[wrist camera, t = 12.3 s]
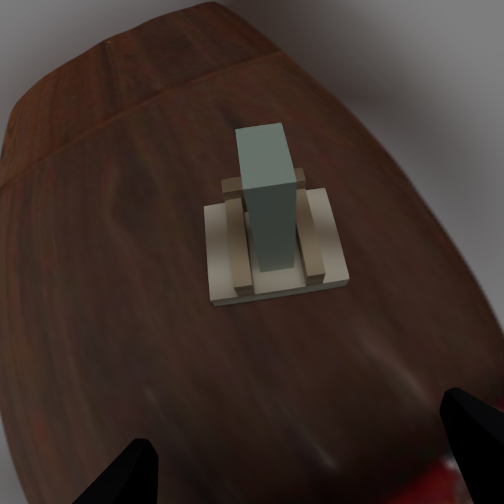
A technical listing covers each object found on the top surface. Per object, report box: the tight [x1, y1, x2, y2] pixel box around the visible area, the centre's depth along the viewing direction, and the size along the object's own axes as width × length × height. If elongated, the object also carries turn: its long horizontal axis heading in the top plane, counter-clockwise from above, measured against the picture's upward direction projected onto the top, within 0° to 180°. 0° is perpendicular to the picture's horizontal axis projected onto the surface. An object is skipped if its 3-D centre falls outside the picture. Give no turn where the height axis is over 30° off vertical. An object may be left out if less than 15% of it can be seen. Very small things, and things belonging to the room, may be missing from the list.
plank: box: [235, 123, 297, 273], centre depth 19 cm, size 4×2×10 cm, turn 7°
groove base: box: [204, 168, 349, 306], centre depth 23 cm, size 8×10×4 cm
